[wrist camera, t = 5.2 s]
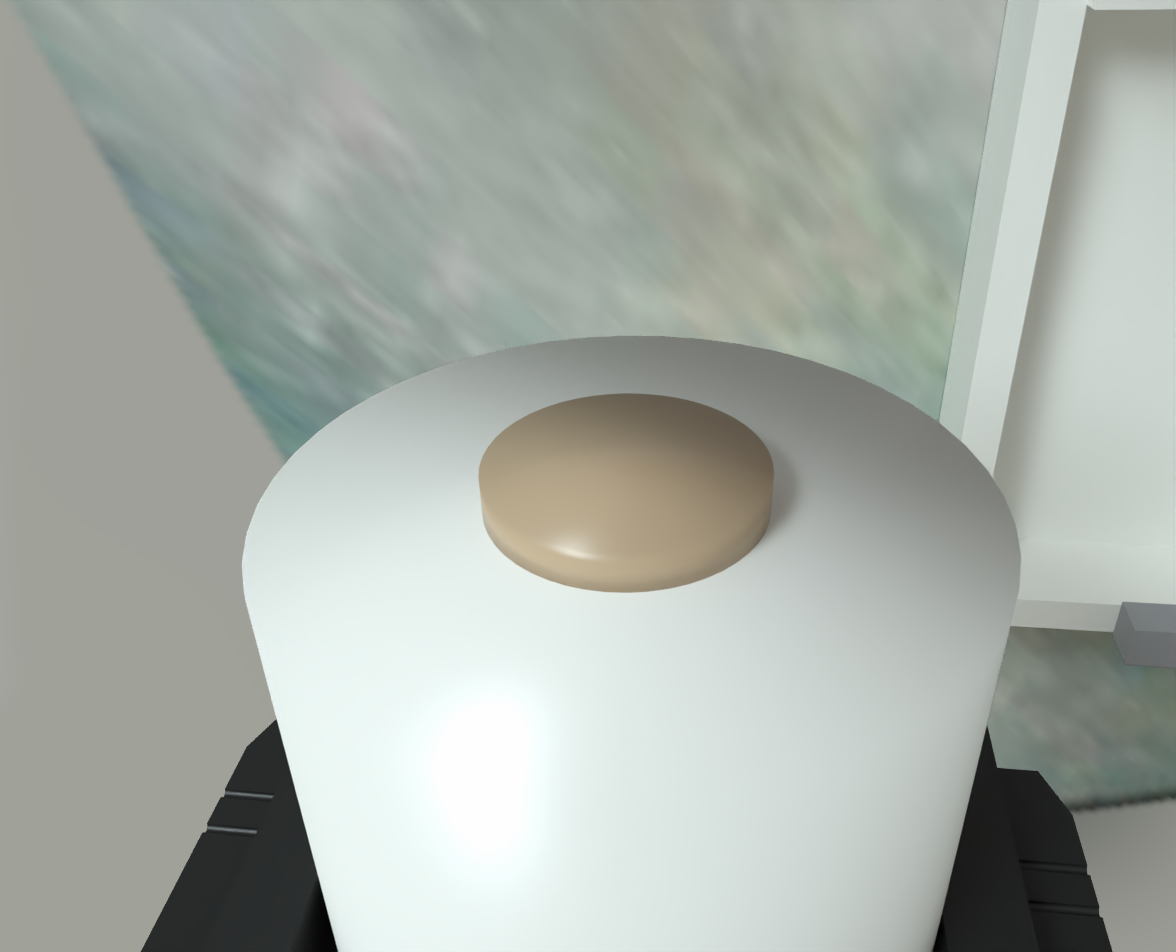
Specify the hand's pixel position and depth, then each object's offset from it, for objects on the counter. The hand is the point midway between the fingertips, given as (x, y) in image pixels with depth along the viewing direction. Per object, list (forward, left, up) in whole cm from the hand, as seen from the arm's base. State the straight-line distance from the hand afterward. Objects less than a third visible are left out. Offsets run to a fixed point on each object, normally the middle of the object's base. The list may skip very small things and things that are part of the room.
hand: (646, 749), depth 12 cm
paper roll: (0, 0, -1) cm, 1 cm away
